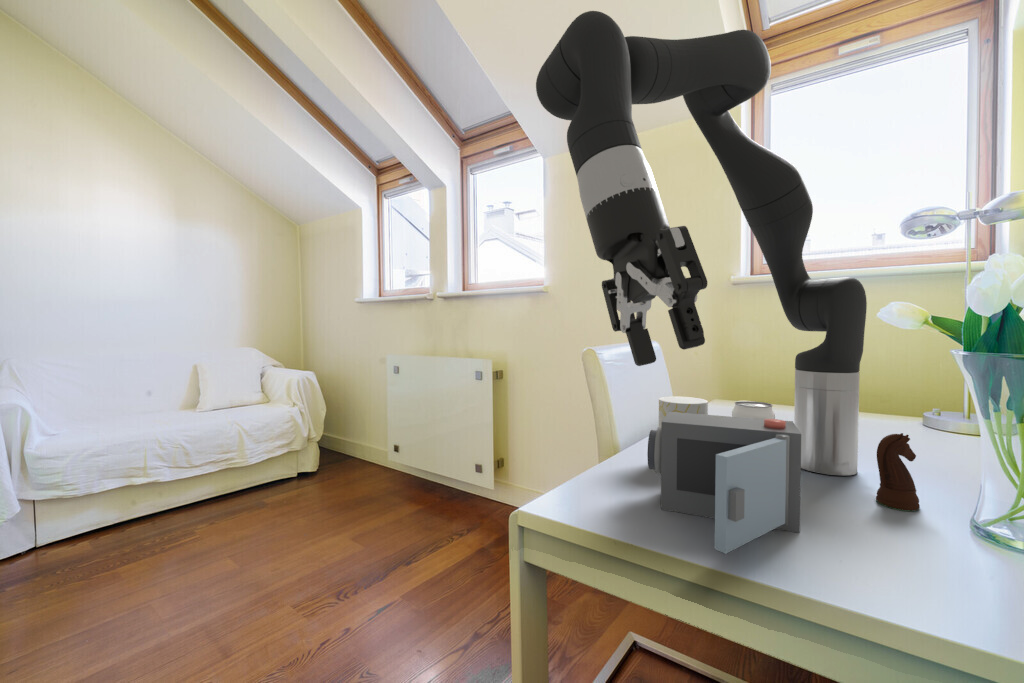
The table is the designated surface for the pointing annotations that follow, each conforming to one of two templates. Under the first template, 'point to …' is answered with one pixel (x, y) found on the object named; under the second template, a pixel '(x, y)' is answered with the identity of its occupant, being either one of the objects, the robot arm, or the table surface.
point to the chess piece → (896, 474)
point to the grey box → (713, 458)
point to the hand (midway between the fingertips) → (667, 356)
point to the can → (753, 410)
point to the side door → (751, 492)
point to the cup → (681, 406)
